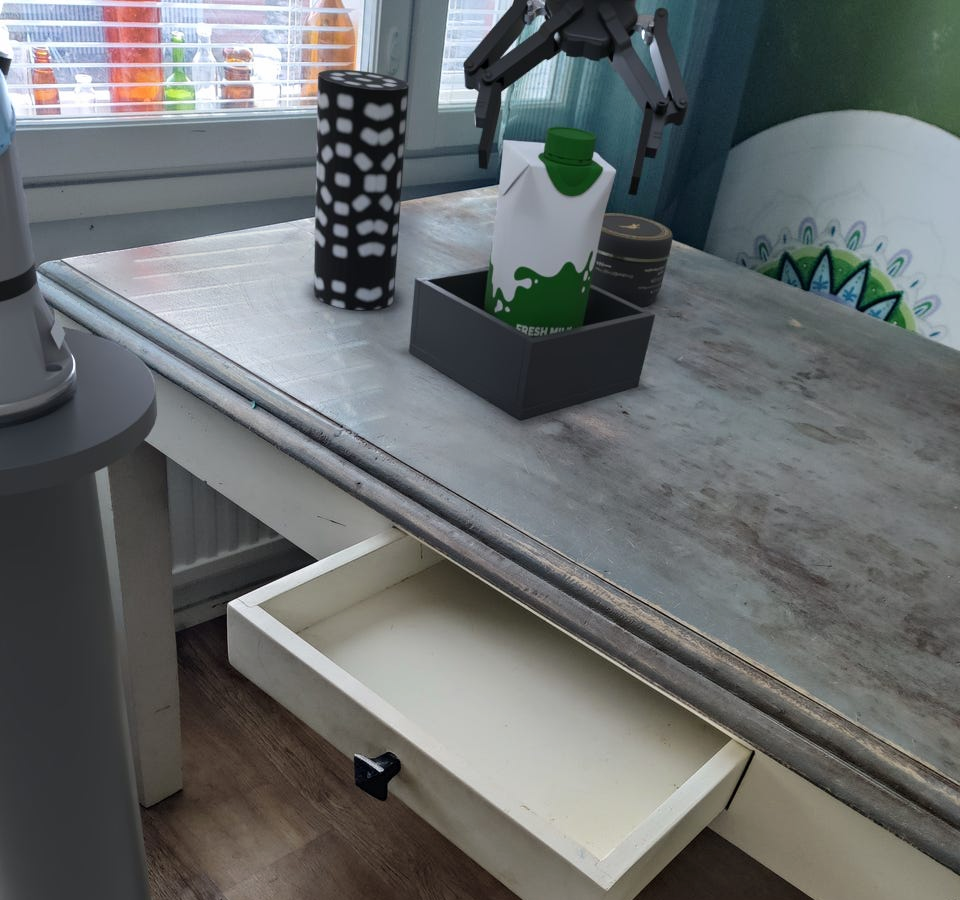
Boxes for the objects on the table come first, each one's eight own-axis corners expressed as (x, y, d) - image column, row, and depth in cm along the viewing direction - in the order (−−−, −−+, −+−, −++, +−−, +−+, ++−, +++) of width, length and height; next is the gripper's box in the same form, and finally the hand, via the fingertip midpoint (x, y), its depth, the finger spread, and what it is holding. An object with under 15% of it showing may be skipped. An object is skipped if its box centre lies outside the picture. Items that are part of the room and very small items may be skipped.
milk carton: (493, 379, 88) (528, 136, 76) (469, 339, 95) (497, 109, 83) (584, 380, 91) (632, 144, 78) (554, 340, 97) (593, 117, 85)
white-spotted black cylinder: (405, 292, 106) (421, 82, 93) (375, 316, 99) (388, 94, 87) (334, 275, 107) (340, 66, 95) (300, 298, 101) (302, 76, 88)
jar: (670, 295, 116) (686, 227, 111) (641, 317, 109) (657, 246, 104) (592, 272, 119) (605, 206, 114) (559, 293, 112) (571, 223, 107)
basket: (408, 352, 93) (414, 278, 89) (527, 327, 102) (538, 258, 98) (519, 420, 85) (532, 342, 80) (638, 386, 94) (655, 314, 89)
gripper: (729, 12, 93) (689, 220, 90) (469, -31, 94) (423, 173, 91) (748, -53, 85) (706, 171, 83) (466, -99, 86) (416, 121, 84)
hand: (558, 173), depth 87 cm, fingers open, 13 cm apart
